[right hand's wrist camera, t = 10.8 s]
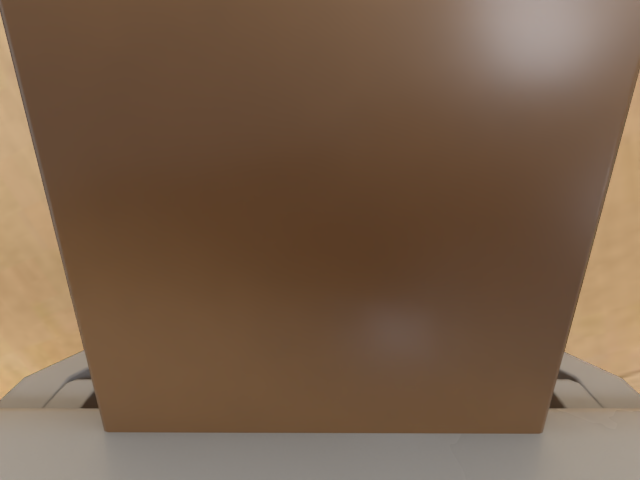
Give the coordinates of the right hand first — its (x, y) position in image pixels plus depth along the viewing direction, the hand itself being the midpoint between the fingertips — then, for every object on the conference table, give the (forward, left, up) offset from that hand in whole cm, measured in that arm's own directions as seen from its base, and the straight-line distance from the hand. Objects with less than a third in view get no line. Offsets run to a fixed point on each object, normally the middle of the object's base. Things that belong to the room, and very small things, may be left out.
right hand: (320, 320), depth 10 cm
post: (+16, -18, -3) cm, 24 cm away
